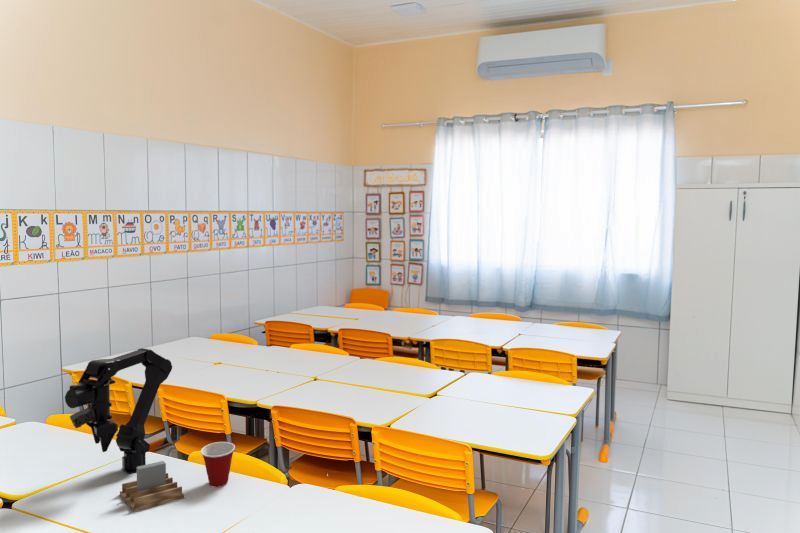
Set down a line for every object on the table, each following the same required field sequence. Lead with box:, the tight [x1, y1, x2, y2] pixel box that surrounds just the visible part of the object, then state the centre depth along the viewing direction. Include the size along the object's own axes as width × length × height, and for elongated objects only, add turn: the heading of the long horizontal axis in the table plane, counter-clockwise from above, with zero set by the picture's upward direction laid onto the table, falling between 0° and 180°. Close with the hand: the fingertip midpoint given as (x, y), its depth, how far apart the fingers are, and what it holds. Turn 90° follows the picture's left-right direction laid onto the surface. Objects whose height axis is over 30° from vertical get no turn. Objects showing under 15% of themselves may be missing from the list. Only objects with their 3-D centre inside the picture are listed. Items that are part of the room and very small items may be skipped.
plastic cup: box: [200, 441, 236, 488], centre depth 203 cm, size 11×11×12 cm
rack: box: [119, 472, 185, 513], centre depth 193 cm, size 15×14×4 cm
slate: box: [136, 460, 167, 492], centre depth 193 cm, size 8×2×9 cm, turn 129°
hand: (100, 447), depth 201 cm, fingers open, 9 cm apart
